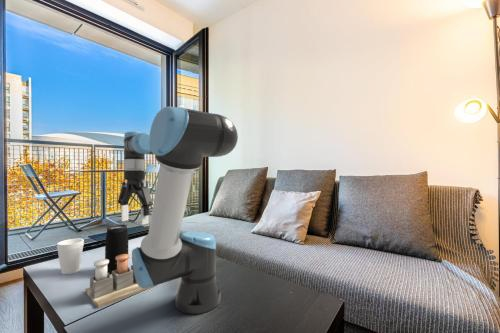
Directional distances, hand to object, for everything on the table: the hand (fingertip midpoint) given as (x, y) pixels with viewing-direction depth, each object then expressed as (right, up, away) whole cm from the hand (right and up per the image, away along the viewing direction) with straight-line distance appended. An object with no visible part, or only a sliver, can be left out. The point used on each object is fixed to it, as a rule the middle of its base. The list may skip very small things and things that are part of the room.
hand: (134, 222), depth 96 cm
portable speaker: (-13, -24, +9) cm, 28 cm away
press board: (-1, -24, -7) cm, 25 cm away
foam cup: (-32, -24, +8) cm, 41 cm away
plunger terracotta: (-1, -18, -7) cm, 19 cm away
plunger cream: (-6, -18, -12) cm, 22 cm away
